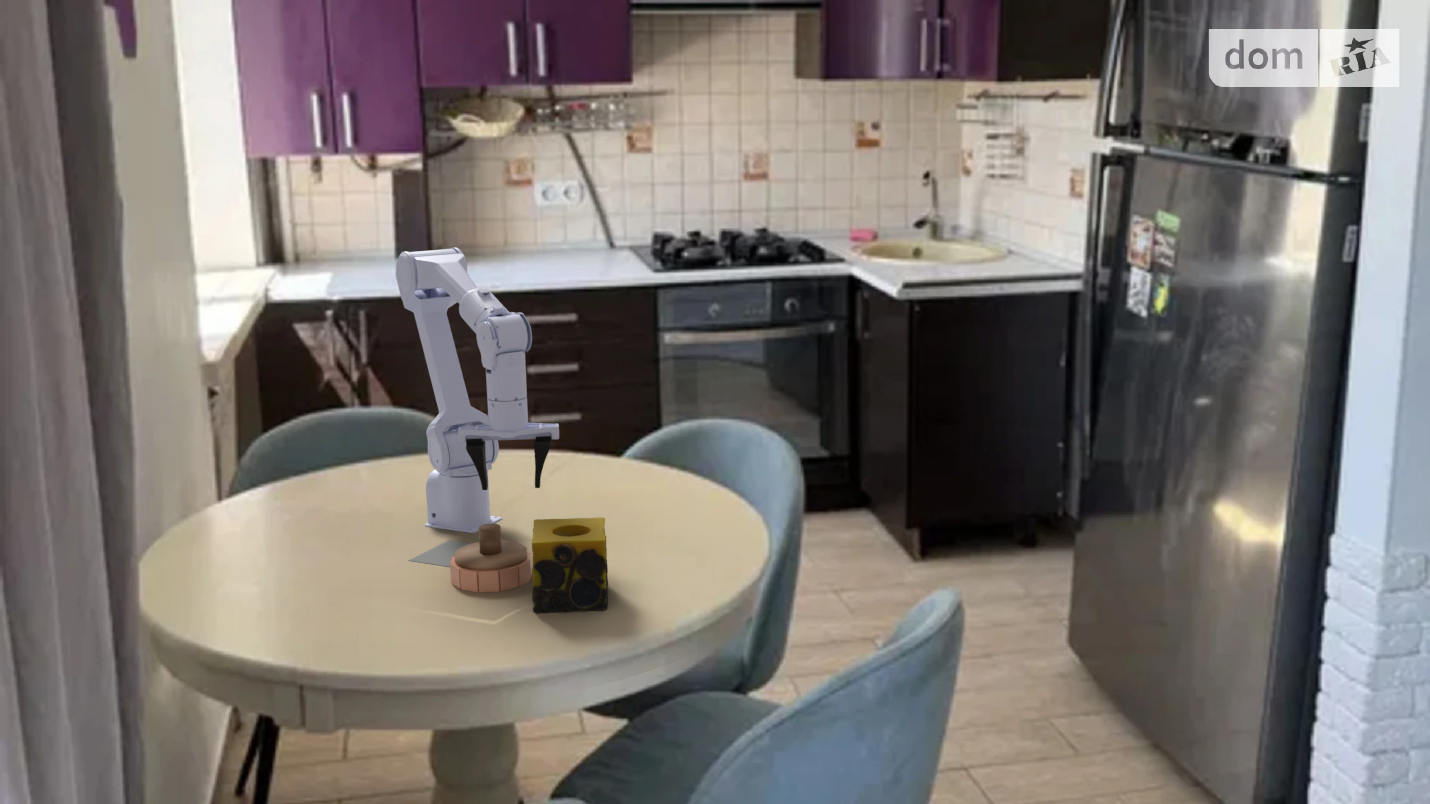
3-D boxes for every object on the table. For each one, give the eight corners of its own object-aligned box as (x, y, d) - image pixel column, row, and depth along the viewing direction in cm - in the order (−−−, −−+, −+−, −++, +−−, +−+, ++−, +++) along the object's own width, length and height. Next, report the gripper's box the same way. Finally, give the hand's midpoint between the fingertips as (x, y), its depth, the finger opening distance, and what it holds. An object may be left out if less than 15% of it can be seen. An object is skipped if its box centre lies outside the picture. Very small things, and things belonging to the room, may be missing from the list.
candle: (535, 588, 189) (531, 518, 187) (608, 584, 190) (606, 515, 188) (531, 615, 180) (528, 542, 177) (609, 611, 180) (606, 539, 178)
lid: (440, 565, 189) (438, 533, 188) (478, 543, 198) (477, 513, 197) (504, 573, 185) (502, 541, 184) (540, 551, 194) (538, 520, 193)
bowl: (436, 587, 190) (434, 565, 189) (481, 563, 200) (480, 542, 199) (503, 598, 185) (502, 576, 185) (546, 573, 195) (545, 551, 194)
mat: (408, 562, 200) (408, 560, 200) (449, 542, 209) (448, 540, 209) (465, 571, 196) (465, 569, 196) (504, 550, 205) (504, 548, 205)
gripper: (454, 405, 195) (459, 496, 198) (556, 401, 196) (560, 492, 199) (458, 394, 202) (463, 483, 205) (557, 391, 203) (561, 479, 206)
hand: (511, 487), depth 202 cm, fingers open, 7 cm apart
